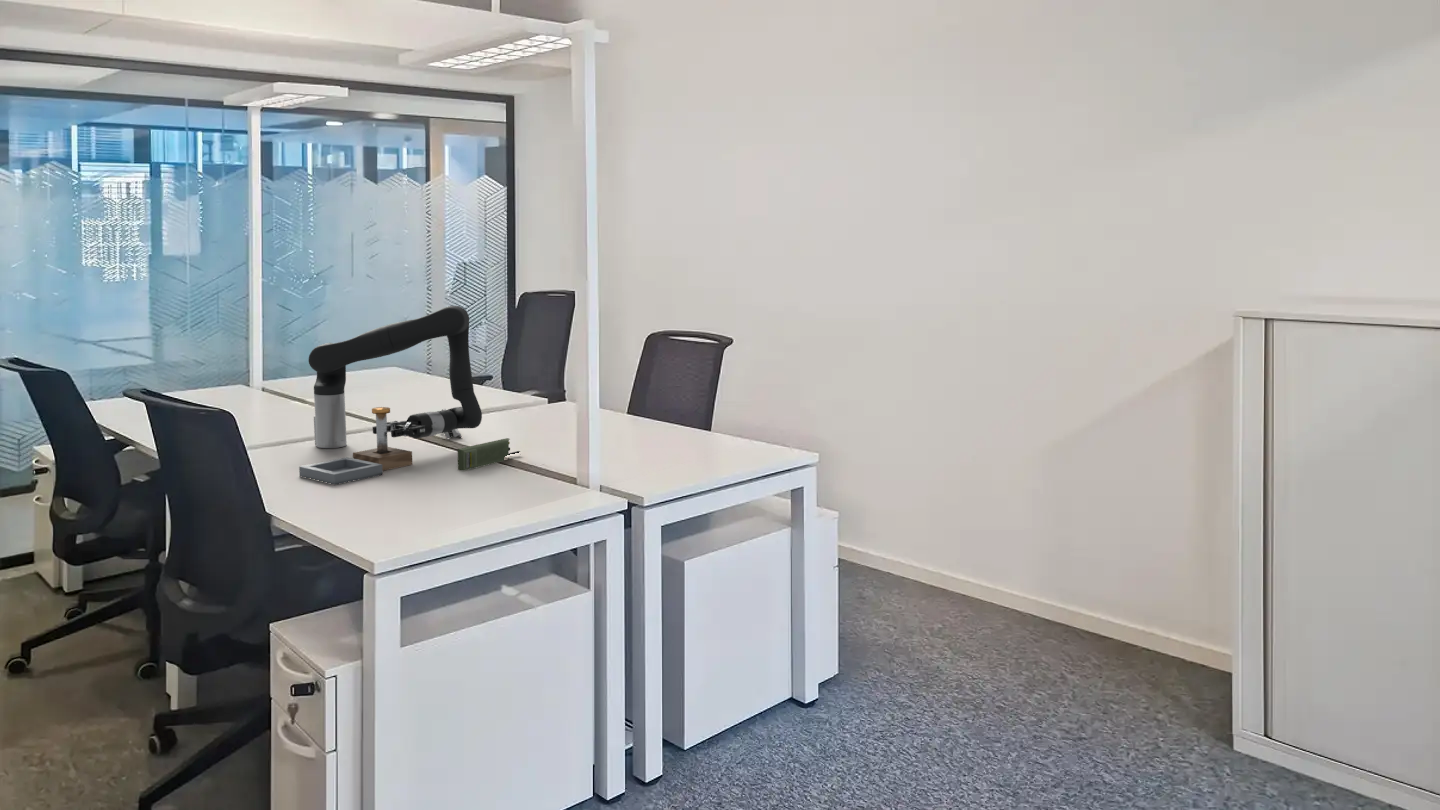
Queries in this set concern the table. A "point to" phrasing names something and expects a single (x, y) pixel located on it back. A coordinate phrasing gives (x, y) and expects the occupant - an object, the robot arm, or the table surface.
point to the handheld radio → (483, 454)
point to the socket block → (386, 457)
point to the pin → (381, 428)
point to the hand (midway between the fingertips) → (382, 432)
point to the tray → (341, 470)
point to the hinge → (452, 432)
